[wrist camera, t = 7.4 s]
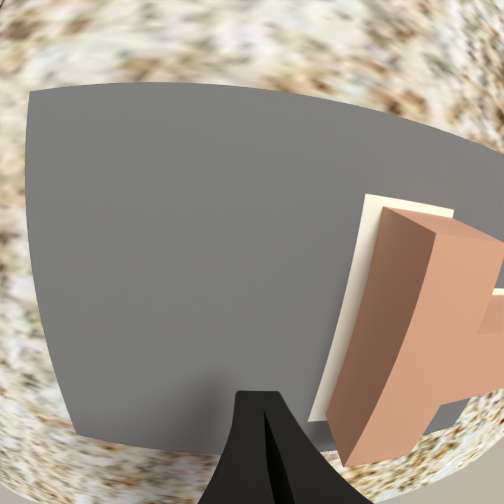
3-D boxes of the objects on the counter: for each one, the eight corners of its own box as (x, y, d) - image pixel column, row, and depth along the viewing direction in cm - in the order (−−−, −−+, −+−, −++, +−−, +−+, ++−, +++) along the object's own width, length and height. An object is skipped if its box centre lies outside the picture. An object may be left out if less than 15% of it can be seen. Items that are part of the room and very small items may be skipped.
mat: (544, 175, 13) (549, 177, 13) (450, 423, 20) (452, 426, 19) (34, 92, 10) (29, 91, 10) (78, 430, 17) (77, 434, 16)
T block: (533, 235, 14) (577, 257, 10) (471, 391, 18) (497, 425, 14) (383, 205, 13) (436, 233, 9) (325, 414, 17) (343, 467, 13)
